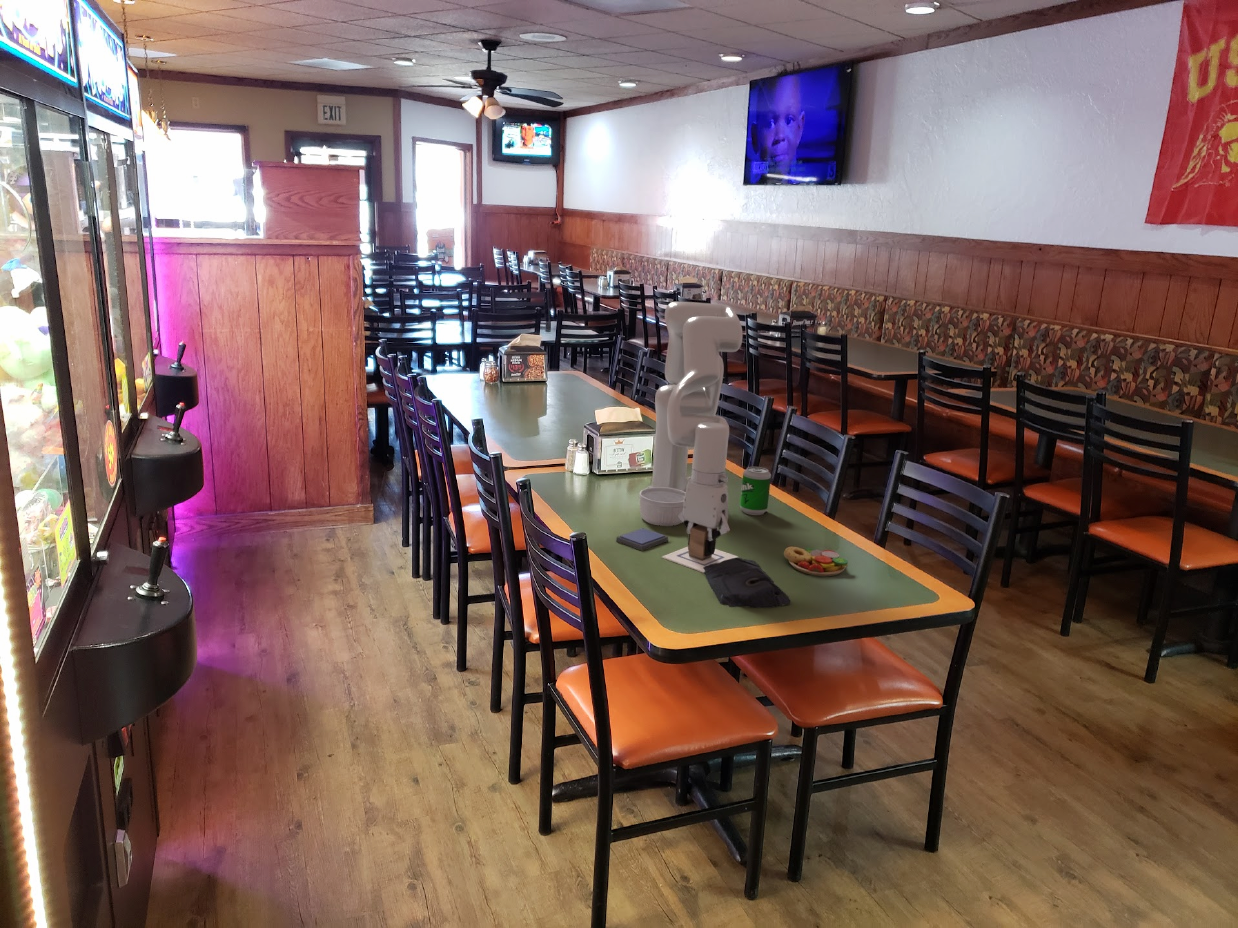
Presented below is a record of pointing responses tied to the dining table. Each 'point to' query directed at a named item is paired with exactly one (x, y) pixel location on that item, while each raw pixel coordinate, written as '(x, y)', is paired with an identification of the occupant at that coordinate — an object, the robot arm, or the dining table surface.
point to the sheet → (686, 560)
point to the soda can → (755, 490)
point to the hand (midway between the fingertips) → (700, 551)
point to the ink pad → (642, 539)
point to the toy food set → (815, 561)
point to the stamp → (698, 542)
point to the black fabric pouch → (744, 584)
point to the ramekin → (661, 505)
